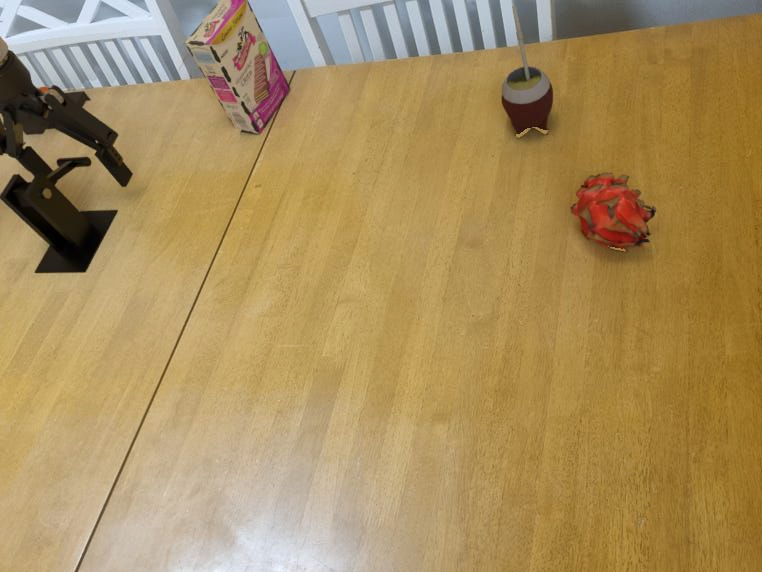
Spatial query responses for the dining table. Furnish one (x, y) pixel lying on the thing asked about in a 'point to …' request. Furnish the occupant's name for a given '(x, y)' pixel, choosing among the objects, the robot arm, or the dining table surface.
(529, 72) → the mate gourd
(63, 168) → the switch lever
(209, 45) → the candy bar box
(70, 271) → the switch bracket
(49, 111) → the button box
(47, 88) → the power button
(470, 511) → the dining table surface
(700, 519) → the dining table surface
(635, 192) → the dragon fruit
